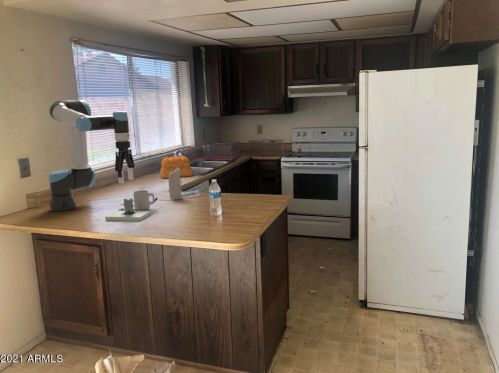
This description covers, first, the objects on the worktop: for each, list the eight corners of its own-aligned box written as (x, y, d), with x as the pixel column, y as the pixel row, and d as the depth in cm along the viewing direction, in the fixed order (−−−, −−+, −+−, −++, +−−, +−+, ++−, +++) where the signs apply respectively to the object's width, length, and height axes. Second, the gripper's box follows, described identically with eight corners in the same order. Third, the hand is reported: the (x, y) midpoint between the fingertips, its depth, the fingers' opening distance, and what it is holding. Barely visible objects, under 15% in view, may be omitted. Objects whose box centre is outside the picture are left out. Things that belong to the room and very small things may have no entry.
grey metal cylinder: (123, 217, 233) (122, 200, 231) (127, 215, 237) (126, 198, 235) (131, 217, 232) (129, 200, 230) (135, 215, 236) (133, 198, 234)
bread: (193, 176, 359) (192, 156, 356) (162, 179, 351) (160, 158, 347) (189, 173, 374) (188, 154, 370) (159, 176, 365) (158, 156, 362)
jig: (105, 220, 229) (105, 215, 228) (119, 212, 244) (119, 207, 243) (140, 221, 225) (139, 215, 224) (152, 213, 240) (152, 208, 240)
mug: (137, 212, 243) (135, 193, 241) (133, 209, 250) (131, 191, 248) (157, 209, 249) (156, 191, 247) (152, 206, 256) (151, 188, 254)
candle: (159, 198, 277) (157, 168, 273) (180, 196, 281) (178, 166, 277) (160, 201, 270) (158, 170, 266) (182, 199, 274) (180, 168, 270)
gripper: (118, 142, 214) (122, 185, 219) (138, 138, 237) (141, 177, 241) (105, 142, 216) (109, 185, 220) (126, 138, 238) (129, 177, 242)
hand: (126, 181), depth 231 cm, fingers open, 10 cm apart
